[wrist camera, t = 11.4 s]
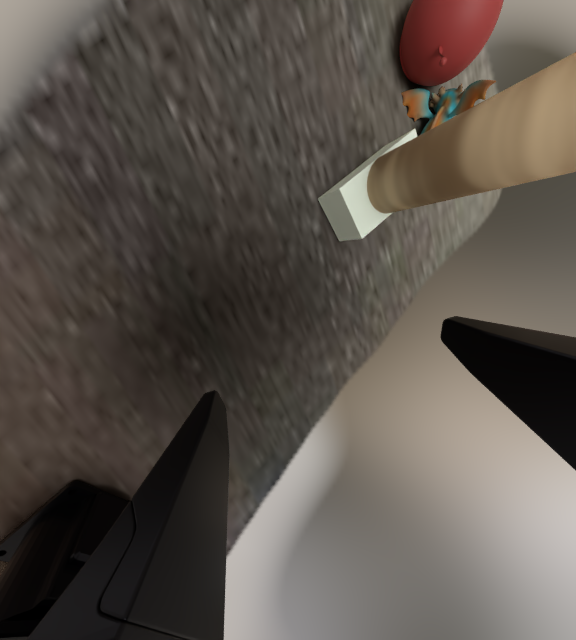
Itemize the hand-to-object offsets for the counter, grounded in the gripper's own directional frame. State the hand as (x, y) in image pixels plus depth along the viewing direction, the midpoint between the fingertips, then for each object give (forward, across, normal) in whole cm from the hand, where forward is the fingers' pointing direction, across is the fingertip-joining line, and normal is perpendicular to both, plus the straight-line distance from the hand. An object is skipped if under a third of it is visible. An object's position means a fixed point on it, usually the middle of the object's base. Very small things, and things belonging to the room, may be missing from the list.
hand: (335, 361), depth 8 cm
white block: (+15, -9, -4) cm, 18 cm away
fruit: (+18, -15, -12) cm, 26 cm away
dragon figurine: (+18, -16, -7) cm, 25 cm away
